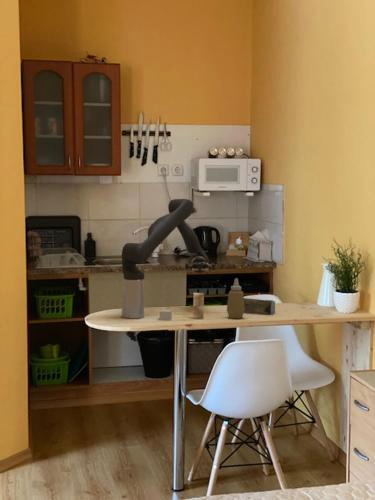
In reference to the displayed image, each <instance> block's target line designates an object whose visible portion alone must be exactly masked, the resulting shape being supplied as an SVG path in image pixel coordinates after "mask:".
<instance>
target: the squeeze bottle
mask: <svg viewBox="0 0 375 500" xmlns="http://www.w3.org/2000/svg"><path fill="white" fill-rule="evenodd" d="M244 298H245V297H244V291H242V286H240V284H239V279H238V277H237V278H234V282H233V285H231V286H230V291H228V297H227V305H226V312H227V315H228V318H230V319H233V320H234V319H237V320H239V319H242V318H243V315H244V314H245V313H244V310H245V309H244Z"/></svg>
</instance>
